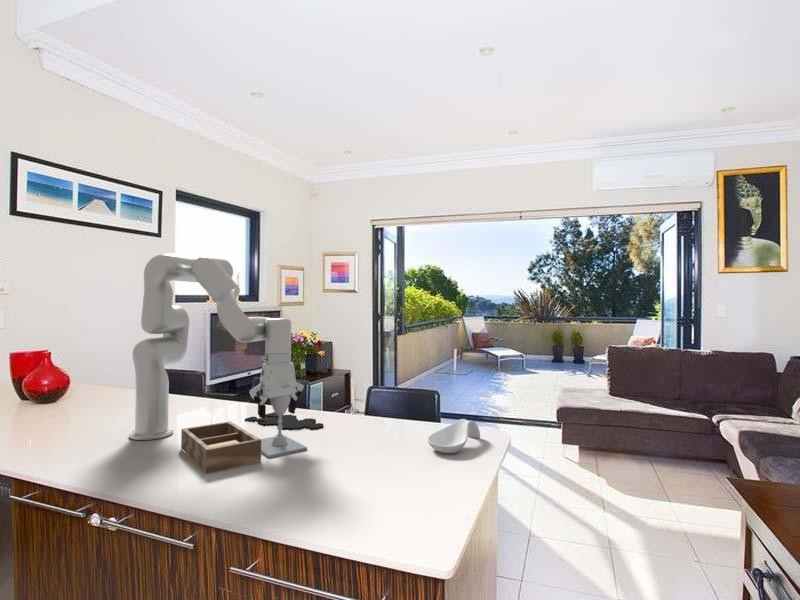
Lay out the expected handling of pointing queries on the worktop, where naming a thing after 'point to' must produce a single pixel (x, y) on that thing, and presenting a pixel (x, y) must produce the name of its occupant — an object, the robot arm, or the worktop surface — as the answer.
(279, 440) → the chalice
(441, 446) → the spoon rest
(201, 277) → the robot arm
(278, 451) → the slate mat
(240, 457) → the walnut crate
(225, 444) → the oak offcut top
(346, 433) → the worktop surface
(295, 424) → the black silhouette cutout
